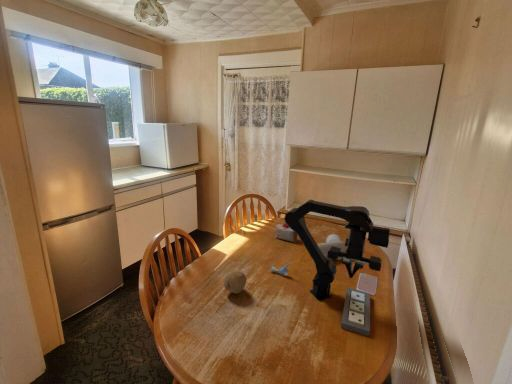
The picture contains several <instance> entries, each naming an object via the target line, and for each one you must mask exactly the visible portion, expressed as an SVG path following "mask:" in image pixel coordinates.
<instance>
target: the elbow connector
mask: <svg viewBox="0 0 512 384" xmlns="http://www.w3.org/2000/svg"><path fill="white" fill-rule="evenodd" d="M317 245H318V247H319V248H320V250H321V252H322V253H323V255H324V256H325V257H326V258H327V259H330V258H328V257H327V255H328V251H329V249H330V247H331V246H334V247H338V248H341V251H340V252H344V253H346V252H347V246H345V242H344V241H342V239H341V237H340V235H338V234H336V233H332V234H329V235H328V236H327V237H326V239H325V242H321V243H317ZM336 260H337V261H340V260H343V257H339V256H338V259H336Z"/></svg>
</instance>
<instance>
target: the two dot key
mask: <svg viewBox="0 0 512 384" xmlns="http://www.w3.org/2000/svg"><path fill="white" fill-rule="evenodd" d="M347 321H349V322H352V323H355V324H359V325H362V326H364V315H363V314H359V313H356V312H352V311H349V316H348V319H347Z"/></svg>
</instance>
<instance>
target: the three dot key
mask: <svg viewBox="0 0 512 384" xmlns="http://www.w3.org/2000/svg"><path fill="white" fill-rule="evenodd" d="M349 310H353V311H356V312H360V313H363V314H364V304H363V303H359V302H355V301H352V300H351V301H350V305H349Z"/></svg>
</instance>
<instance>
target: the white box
mask: <svg viewBox="0 0 512 384" xmlns="http://www.w3.org/2000/svg"><path fill="white" fill-rule="evenodd" d="M274 237H275V239H277V240H278V239H279V240H284V241H287V242H290V243H295V242H297V240H298V234H297V233H296V232H295V231H293V230H292V229H291V228H290V227H289V226H288V225H287V223H283V224H282V223H278V224H276V225H275V236H274Z"/></svg>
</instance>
